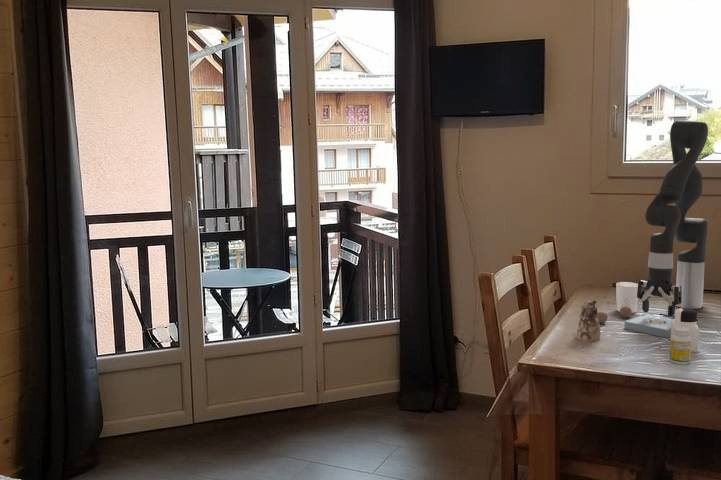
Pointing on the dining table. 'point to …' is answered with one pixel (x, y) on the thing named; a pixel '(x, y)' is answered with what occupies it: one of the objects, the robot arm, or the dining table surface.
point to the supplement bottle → (680, 346)
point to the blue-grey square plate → (650, 325)
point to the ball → (657, 320)
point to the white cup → (627, 295)
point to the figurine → (588, 323)
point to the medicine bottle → (687, 325)
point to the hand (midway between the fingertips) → (658, 314)
